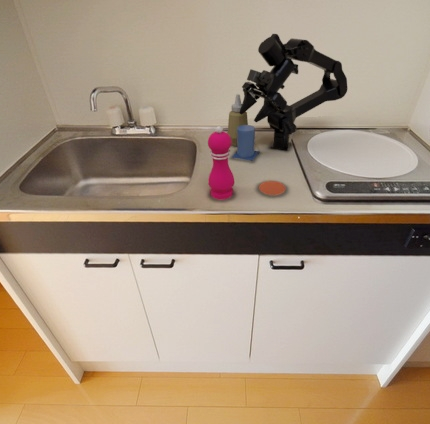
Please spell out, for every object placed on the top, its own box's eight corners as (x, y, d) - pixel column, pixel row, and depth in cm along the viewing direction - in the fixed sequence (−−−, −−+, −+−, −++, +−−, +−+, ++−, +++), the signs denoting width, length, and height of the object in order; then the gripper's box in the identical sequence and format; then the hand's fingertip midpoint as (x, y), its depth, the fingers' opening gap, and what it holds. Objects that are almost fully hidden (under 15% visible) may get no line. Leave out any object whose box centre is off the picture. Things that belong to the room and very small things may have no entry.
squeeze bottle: (223, 144, 109) (221, 95, 98) (236, 137, 114) (236, 90, 103) (239, 149, 105) (239, 99, 94) (252, 142, 109) (254, 93, 99)
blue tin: (250, 149, 103) (251, 123, 97) (256, 156, 98) (257, 129, 93) (234, 152, 102) (234, 126, 96) (240, 159, 97) (240, 132, 91)
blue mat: (239, 149, 105) (239, 148, 104) (259, 152, 102) (259, 151, 102) (231, 158, 99) (231, 156, 99) (252, 161, 96) (252, 160, 96)
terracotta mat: (263, 180, 86) (263, 179, 86) (288, 185, 84) (288, 183, 84) (255, 193, 81) (255, 191, 81) (281, 198, 78) (281, 197, 78)
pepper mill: (232, 202, 77) (230, 132, 65) (206, 200, 79) (200, 131, 67) (236, 188, 83) (236, 121, 71) (212, 186, 84) (208, 120, 72)
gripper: (247, 54, 91) (218, 95, 94) (282, 62, 78) (247, 110, 80) (266, 77, 98) (238, 115, 101) (301, 88, 85) (268, 131, 88)
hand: (247, 117), depth 92 cm, fingers open, 9 cm apart
